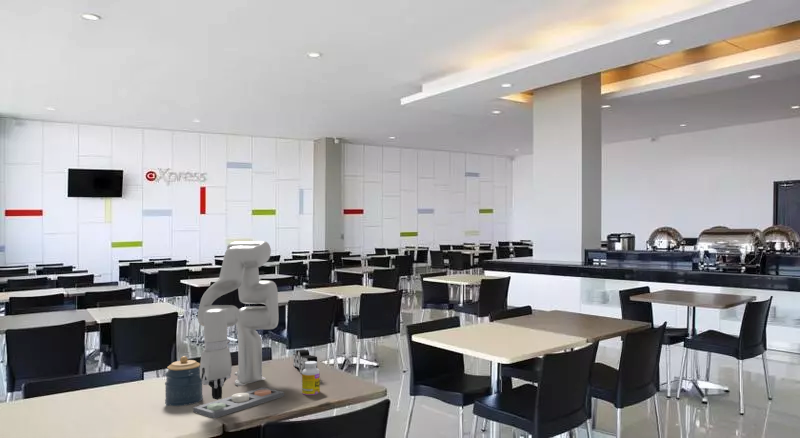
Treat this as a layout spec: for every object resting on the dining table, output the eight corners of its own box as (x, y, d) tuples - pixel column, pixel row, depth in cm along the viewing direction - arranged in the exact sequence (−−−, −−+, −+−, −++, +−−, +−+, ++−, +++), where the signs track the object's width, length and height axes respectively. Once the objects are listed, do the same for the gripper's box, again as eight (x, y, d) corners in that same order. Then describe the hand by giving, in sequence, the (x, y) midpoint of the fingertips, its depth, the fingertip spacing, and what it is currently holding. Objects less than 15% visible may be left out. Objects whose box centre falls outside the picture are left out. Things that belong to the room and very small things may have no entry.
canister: (210, 400, 209) (210, 353, 210) (186, 411, 197) (186, 361, 198) (182, 398, 214) (181, 351, 214) (157, 408, 201) (156, 359, 202)
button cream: (228, 404, 199) (228, 395, 199) (242, 400, 204) (242, 391, 204) (238, 407, 196) (238, 398, 196) (252, 402, 201) (252, 394, 201)
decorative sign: (318, 375, 235) (316, 351, 237) (308, 376, 234) (307, 352, 235) (302, 370, 265) (301, 348, 266) (293, 371, 263) (292, 349, 265)
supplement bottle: (316, 399, 209) (315, 364, 209) (299, 398, 210) (299, 364, 210) (322, 394, 215) (321, 360, 216) (306, 393, 217) (305, 360, 217)
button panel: (214, 422, 184) (214, 413, 184) (193, 416, 192) (193, 407, 192) (284, 400, 208) (284, 392, 208) (263, 395, 216) (262, 387, 216)
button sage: (203, 415, 191) (203, 406, 191) (218, 410, 196) (218, 401, 196) (214, 418, 188) (214, 409, 188) (229, 413, 193) (229, 404, 193)
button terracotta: (251, 400, 207) (251, 392, 207) (264, 396, 212) (263, 388, 212) (261, 403, 204) (261, 394, 204) (274, 399, 209) (274, 391, 209)
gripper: (227, 339, 201) (228, 391, 201) (190, 348, 189) (191, 402, 189) (240, 342, 197) (241, 394, 197) (203, 351, 185) (204, 406, 185)
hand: (217, 398), depth 193 cm, fingers closed
